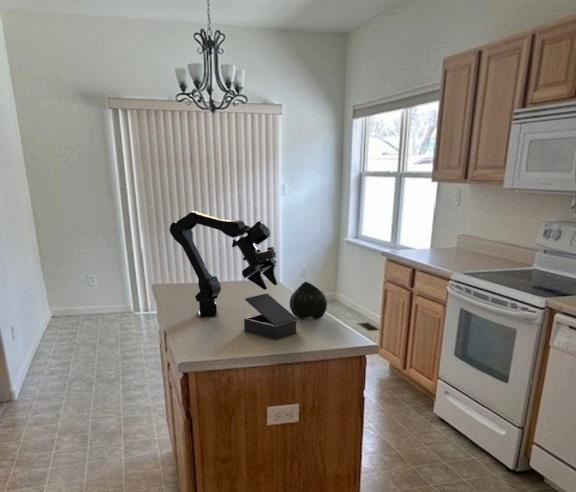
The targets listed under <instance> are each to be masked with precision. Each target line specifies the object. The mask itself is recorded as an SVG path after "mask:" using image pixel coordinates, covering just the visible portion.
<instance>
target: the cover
mask: <svg viewBox="0 0 576 492" xmlns="http://www.w3.org/2000/svg"><path fill="white" fill-rule="evenodd" d="M244 301H246V303H248V304H249V305H250V306H251V307H252V308H253V309H255V311H257V312H258V313H259V314H262V315H263V316H264V317H265V318H266V319H267V320H269V321H270V322H271V323H272V324H273V325H274V326H277V325H281V324H284V323H288V322H291V321H294V320H296V321H297V318H298V317H296V316H295V315H294V314H293V313H292V312H290V311H289V310H288V309H287V308H285V306H283V305H282V304H281V303H280V302H278V301H277V300H276V299H274V297H273V296H271V295H270V294H269V293H263V294H259V295H258V294H257V295H253V296H250V297H245V298H244Z"/></svg>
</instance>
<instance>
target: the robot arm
mask: <svg viewBox="0 0 576 492" xmlns="http://www.w3.org/2000/svg"><path fill="white" fill-rule="evenodd" d="M197 225H200V226H204V227H207V228H211V229H215V230H217V231H218V230H219V231H220V232H222V233H223V234H224V235H226V236H228V237H230V238H237V239H232V243H231V247H232V248H237V247H238V249H239V250H240V252H241V254H242V256H243V258H242V260H243V261H246V262H247V264H248V266H246V267H245V268H244V269H243V270H241V275H242V277H243V278H244V279H246V280H249V281H250V282H252V283H254V284H255V285H256V286H258V287H260V288H261V289H262V290H264V291H265V290H267V285H266V282H265V281H264V279H263V276H264V277H265V278H266V279H267V280H268V281H269V282H270V283H271V284H272V285H274V286H277V285H278V281H277V278H276V273H275V268H276V266H277V261H276V259H275V258H277V255H276V254H277V253H278V251H277V250H276V248H275V247H274V246H269V247H267V249H266V250H263V251H262V249H260V248H257V245H261V244H262V243H263V242H265V241H266V240H268V239H269V238H270V237H271V236H272V234H271V230H270V229H269V227H267V226H266V225H265V224H264V223H263V221H261V220H258V221H257V222H255V224H253V225H251V226H249V225H247V224H246V223H245V222H244V221H242V220H238V219H224V218H220V217H216V216H212V215H209V214H206V213H202V212H199V211H189V213H188V214H186V215H185V216H183V217H181V218H180V219H178V220H177V221H173V222H172V223H170V225H169V229H168V230H169V233H170V235H171V237H172V238H173V239H174V240H175V242H177V244H179V245H180V246H181V247H182V249H183V251H184V253H185V255H186V257H187V259H188V261H189V263H190V265H191V267H192V269H193V271H194V273H195V275H196V277H197V279H198V280H197V282H198V289H199V291H198V293H196V295H195V296H194V299H195V301H196V302H198V306H199V307H198V310H199V311H198V315H199V317H200V318H201V317H202V318H203V317H217V313H218V307H217V306H218V305H217V302H216V300H217V299H218V296H219V295H220V293H221V290H222V287H221V286H222V284H221V282H220V281H219V279H218V276H217V275H212V274H210V272H209V270H208V268H207V265H206V264H205V262H204V260H203V258H202V256H201V253H200V252H199V250H198V248H197V246H196V244H195V242H194V232H193V230H192V229H194V228H195V227H196V226H197ZM244 235H245V236H244ZM262 275H263V276H262Z"/></svg>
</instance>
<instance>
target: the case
mask: <svg viewBox="0 0 576 492" xmlns="http://www.w3.org/2000/svg"><path fill="white" fill-rule="evenodd" d="M265 322H268V323H271V322H270V321H269V320H267V319H266V318H265V317H264V316H263V315H262V314H261V313H259V314H256V315H252V316H247V317H244V318H243V330H244V332H247V333H250V334H254V335H257V336H261V337H264V338H268V339H272V340H278V339H281V338H284V337H287V336H288V337H289V336H291V335H294V334H297V319H296V320H294V321H291V322H288V323H284V324H281V325H277V326H274V325H270V324H266V323H265ZM271 324H272V323H271Z"/></svg>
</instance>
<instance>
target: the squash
mask: <svg viewBox="0 0 576 492" xmlns="http://www.w3.org/2000/svg"><path fill="white" fill-rule="evenodd" d="M327 308H328V300H327V297H326V294H325V293H324V292H323V291H322V290H321V289H319V287H317V286H315V285H314V284H312V283H310V282H309V281H304V282H303V283H301V284H300V285H299V286H298V288H297V289H295V290H294V292H293V293H292V294H291V296H290V300H289V309H290V311H291V314H292V315H293V316H295V317H296V318H298V319H299V320H305V319H309V318H312V319H314V320H319V319H321V318H323V317H324V315H325V313H326V311H327Z"/></svg>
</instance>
